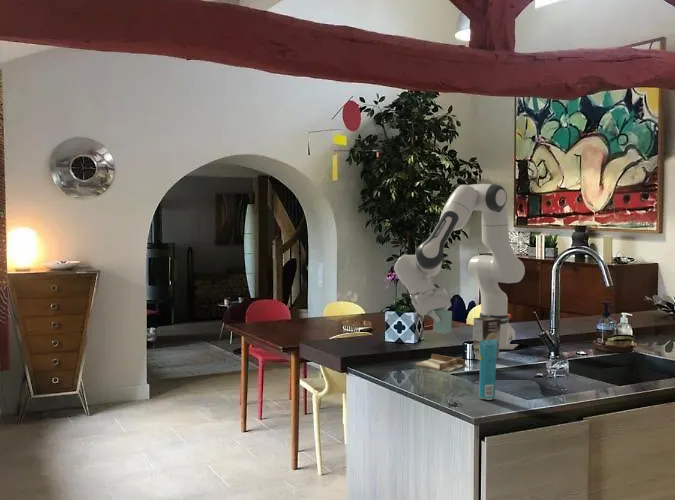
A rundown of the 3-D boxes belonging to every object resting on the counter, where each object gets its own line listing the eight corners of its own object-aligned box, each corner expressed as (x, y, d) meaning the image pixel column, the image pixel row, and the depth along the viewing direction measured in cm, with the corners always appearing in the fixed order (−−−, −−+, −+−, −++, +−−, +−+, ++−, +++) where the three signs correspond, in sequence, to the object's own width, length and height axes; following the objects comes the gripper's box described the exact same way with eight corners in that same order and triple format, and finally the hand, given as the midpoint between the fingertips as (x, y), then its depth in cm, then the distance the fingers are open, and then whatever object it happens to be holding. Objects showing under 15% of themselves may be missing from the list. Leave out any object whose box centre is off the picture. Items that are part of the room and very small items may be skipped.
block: (439, 330, 274) (440, 309, 273) (451, 332, 271) (452, 311, 270) (433, 331, 270) (433, 311, 269) (444, 333, 267) (445, 312, 266)
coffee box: (482, 361, 280) (484, 320, 279) (471, 357, 285) (472, 318, 284) (499, 358, 285) (501, 318, 284) (487, 355, 291) (489, 316, 289)
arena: (434, 359, 281) (434, 353, 281) (466, 365, 273) (466, 359, 273) (415, 365, 270) (415, 359, 270) (448, 372, 262) (448, 365, 262)
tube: (487, 395, 233) (490, 337, 231) (499, 398, 229) (502, 339, 227) (472, 399, 228) (475, 339, 226) (484, 402, 224) (487, 342, 223)
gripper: (413, 289, 265) (435, 318, 260) (441, 284, 281) (462, 312, 276) (403, 299, 268) (424, 328, 263) (430, 294, 284) (451, 322, 279)
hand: (444, 320), depth 270 cm, fingers closed on block, 5 cm apart
